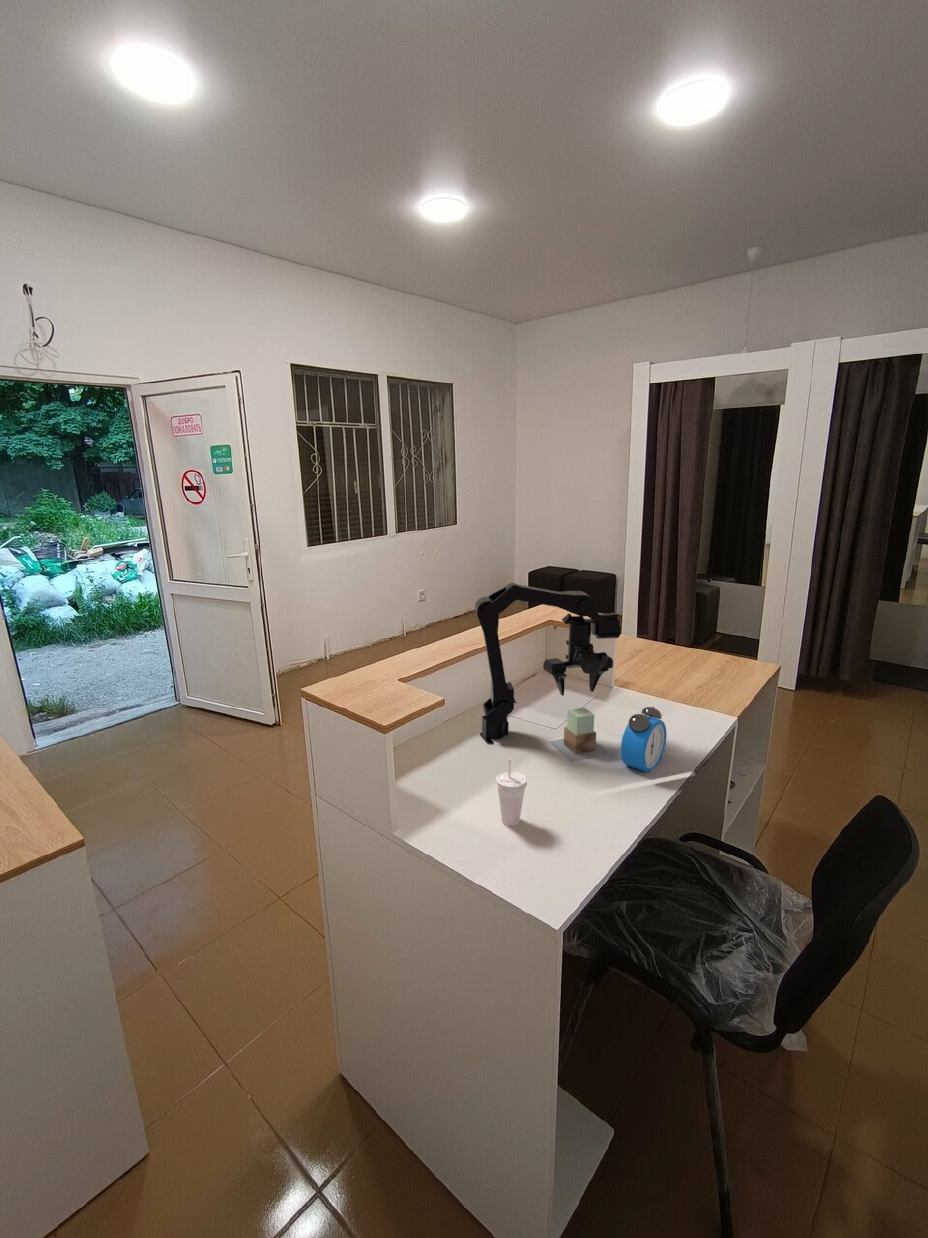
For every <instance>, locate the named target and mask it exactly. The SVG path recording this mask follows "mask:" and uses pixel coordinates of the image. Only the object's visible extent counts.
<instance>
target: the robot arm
mask: <svg viewBox="0 0 928 1238" xmlns="http://www.w3.org/2000/svg"><path fill="white" fill-rule="evenodd" d="M516 601H521V602H522V601H523V602H525V603H526V602H528V603H532V604H537V605H538V604H539V605H544V606H548V607H549V606H550V607H554V608H559V609H562V610H564V611H566V612H569V613H567V614H566V615H565V616H564V617H563V618H561V621H562V622H563V623H564V624H566V625H569V629H568V640H566V645H567V646H568V648H567V649H568V650H567V651H568V654H565V659H566V661H562V660H560V659H559V658H558V657H556V658H546V659H545V660H544V661H543V665H542V666H543V667H542V669H543V670H544V671H546V672H547V673H549V674H550V675H551V676H552V677H553V679H554V681H555V684H556V686H557V688H558V689H557V690H558V691H559V694H560V695H561V697H564V696H565V679H566V677H567V673H566V672H567V669H572V668H573V669H574V668H581V670H582V672H583V673H584V674H588V675H589V676H588V681H589V691H590V692H592V693H594V691H595V689H596V687H597V684H598V683H599V680H600V678H601V676H602V675H603V674H604V673H605V672H609V670H610V669H613V668H614V660H613V658H612V657H611V656H609V655H608V653H606V651H605V652H604V651H603V652H595V651H594V644H593V643H591V635H592V636H595V638H596V639H600V640H602V639H619V638H620V636H621V632H622V627H621V623H620V619H619V614H618V613H617V612H610V613H600V612H598V611H597V609H596V608H595V605H596V603H595V601H594V599H593V597H592V596H590V595H589V594H588V593H585V592H584V591H582V590H567V591H566V590H565V591H555V590H550V589H545V588H541V587H540V588H539V587H533V586H529V585H523V584H518V583H517V582H516V583H515V582H510V583H508V584H507V585H506V586H504V587H502V588H500V589H498V590H497V591H494V592H493V593H491V594H489V596H481V597H480V598H478V599H477V601H476V602H475V604H474V610H475V613H476V616H477V619H478V621H479V623H480V624H479V625H480V626H481V630H482V632H483V637H484V638H483V639H484V643H485V650H486V655H487V661H488V667H489V673H490V680H491V682H490V695H489V696H490V697H489V698H488V699H486V701H485V702H484V703H482V708H483V712H484V715H482V716H481V732H480V733H479V735H480V737H481V738H482V739H483V740H484V741H485V742H486V743H487V744H488V745H489V744H495V742H494V741H493V740H500V739H502V738H504V737H505V736H509V731H510V730H509V728H510V727H509V726H510V725H509V721H508V717H509V715H510V714H512V712H513V711H514V708H515V704H517V701H516V698H515V690H514V689H515V688H514V686H513V684H512V682H511V681H508V682H507V681H506V676H505V675H506V674H505V669H504V663H503V657H502V652H501V644H500V639H499V634H498V633H499V626H500V625H499V623H500V622H499V621H500V618H499V617H500V616H499V615H500V614H501V613H502V612H504V611H505V610H506V609H508V607H509V606H510V605H512V604H513V603H514V602H516ZM570 613H571V614H570ZM572 614H574V615H572ZM585 617H588V618H585Z"/></svg>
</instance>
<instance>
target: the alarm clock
mask: <svg viewBox="0 0 928 1238" xmlns="http://www.w3.org/2000/svg"><path fill="white" fill-rule="evenodd" d="M662 717H663V715H662V713H661V711H660V710H659V709H658V708H656V707H655V706H646V707H643V709H642V710H641V712H640V713H636V714H633V715H632V716H630V717H629V719H628V722H627V723H628V724H627V725H626V727H625V730H624V732H623V735H622V740H621V745H620V756H621V760H622V763H623V764H624V765H625V766H628V767H630V768H633V769H637V770H639V771H641V772H644V773H649V772H651V771H652V770H654V769H655V768H656V767H657V766H658V765H659V764H660V762H661V760H662V757H663V755H664V752H665V750H666V749H665V748H666V744H667V727H666V724H665V722H664V721H663V720H662Z"/></svg>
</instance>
